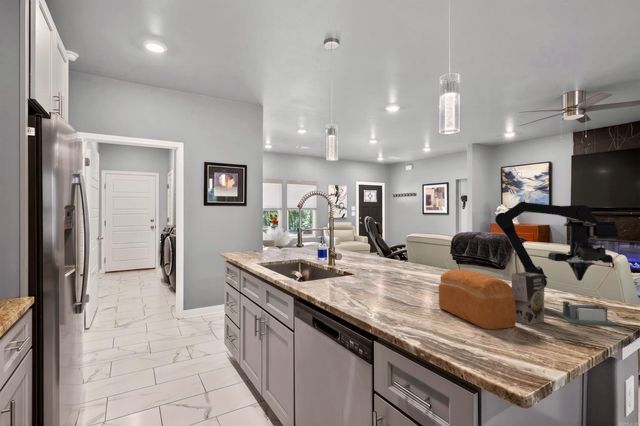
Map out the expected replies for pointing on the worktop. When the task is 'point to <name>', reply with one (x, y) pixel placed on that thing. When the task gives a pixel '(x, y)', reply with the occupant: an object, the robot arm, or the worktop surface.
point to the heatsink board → (573, 315)
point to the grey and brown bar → (588, 306)
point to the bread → (478, 299)
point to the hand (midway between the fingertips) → (579, 280)
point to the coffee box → (528, 297)
